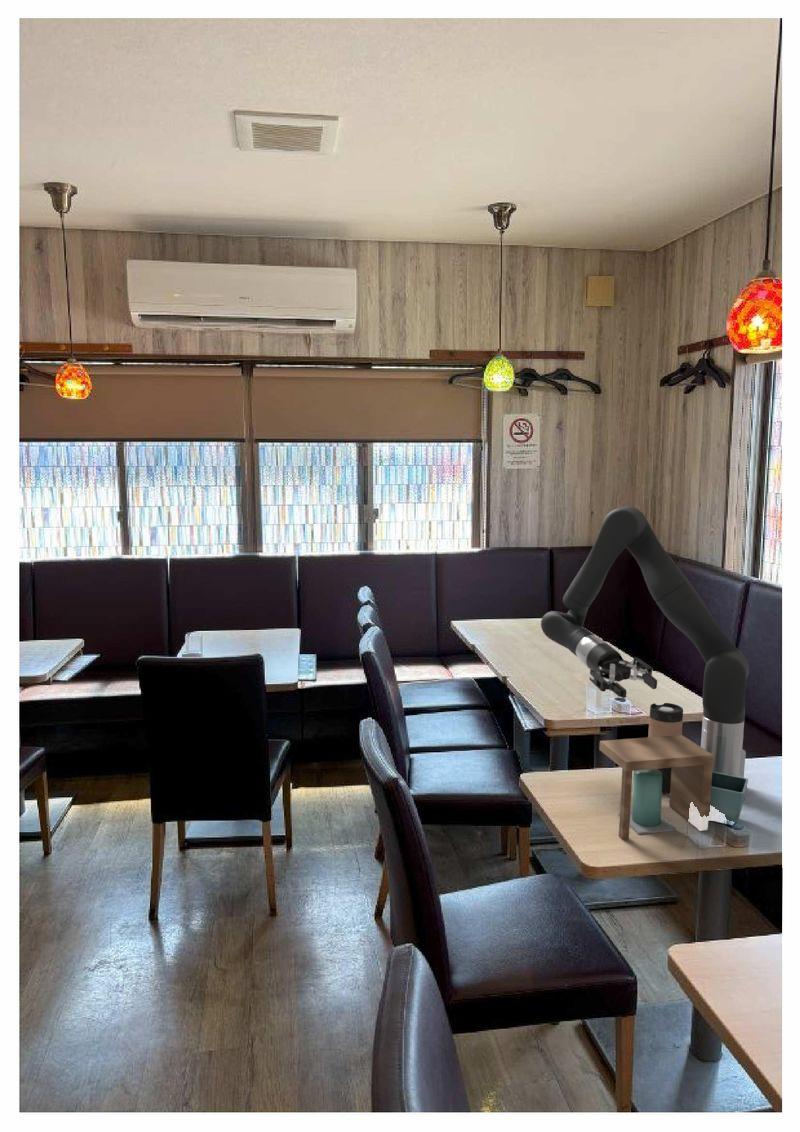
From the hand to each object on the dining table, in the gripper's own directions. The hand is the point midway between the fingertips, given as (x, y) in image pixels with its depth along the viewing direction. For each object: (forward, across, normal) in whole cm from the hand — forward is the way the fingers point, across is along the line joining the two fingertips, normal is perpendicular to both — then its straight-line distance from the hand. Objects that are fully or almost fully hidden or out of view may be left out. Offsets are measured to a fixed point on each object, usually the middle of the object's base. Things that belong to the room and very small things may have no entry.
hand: (640, 690), depth 179 cm
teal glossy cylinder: (+17, -9, +21) cm, 28 cm away
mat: (+17, -9, +22) cm, 29 cm away
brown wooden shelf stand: (+17, -8, +22) cm, 29 cm away
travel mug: (+4, +6, +27) cm, 28 cm away
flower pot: (+22, +7, +23) cm, 33 cm away
